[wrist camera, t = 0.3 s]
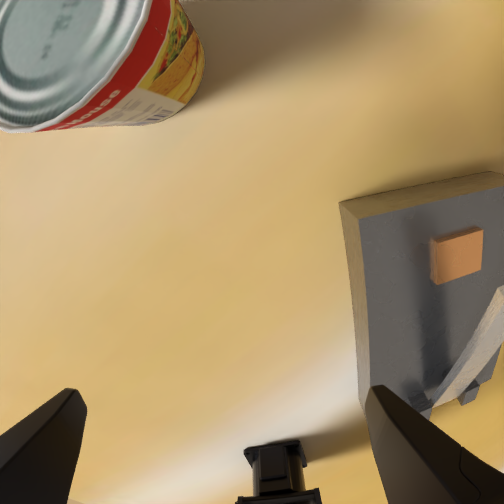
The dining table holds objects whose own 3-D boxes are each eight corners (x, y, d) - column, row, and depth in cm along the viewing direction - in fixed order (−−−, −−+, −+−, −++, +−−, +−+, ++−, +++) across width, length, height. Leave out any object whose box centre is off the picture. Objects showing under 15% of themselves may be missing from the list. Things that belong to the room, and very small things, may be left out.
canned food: (187, -1, 15) (132, -105, 4) (220, 101, 18) (182, 63, 7) (82, 45, 16) (-37, 7, 5) (109, 143, 19) (-17, 172, 8)
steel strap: (455, 389, 22) (458, 396, 22) (428, 401, 22) (430, 408, 22) (532, 271, 12) (540, 282, 11) (497, 287, 12) (505, 299, 11)
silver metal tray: (473, 356, 27) (499, 391, 21) (358, 399, 28) (374, 444, 22) (490, 171, 20) (540, 188, 14) (338, 202, 21) (370, 230, 15)
